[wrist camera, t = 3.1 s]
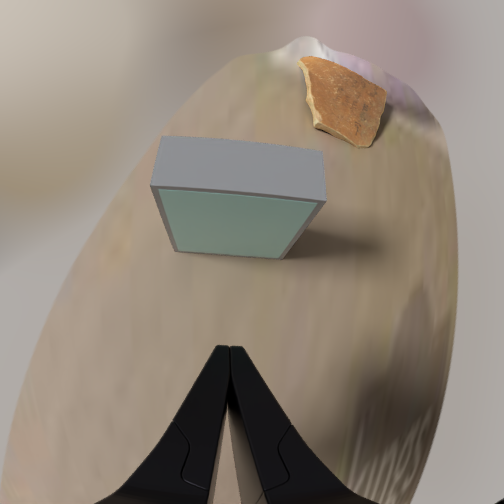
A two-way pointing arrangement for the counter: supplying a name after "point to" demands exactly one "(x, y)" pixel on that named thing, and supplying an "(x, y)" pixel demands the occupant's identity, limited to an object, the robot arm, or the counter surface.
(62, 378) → the counter surface
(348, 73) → the pottery shard
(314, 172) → the tile
